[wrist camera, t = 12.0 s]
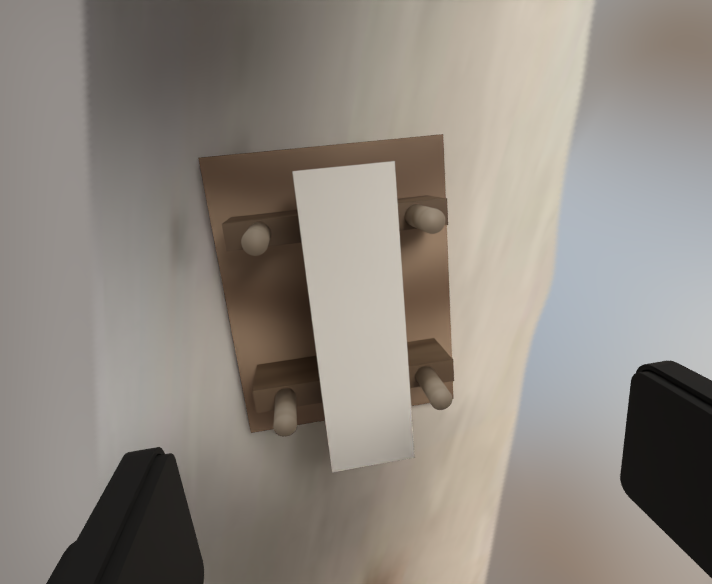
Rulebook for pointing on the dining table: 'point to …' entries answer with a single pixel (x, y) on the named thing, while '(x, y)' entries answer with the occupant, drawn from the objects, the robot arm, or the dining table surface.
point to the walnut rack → (288, 278)
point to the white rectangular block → (357, 310)
